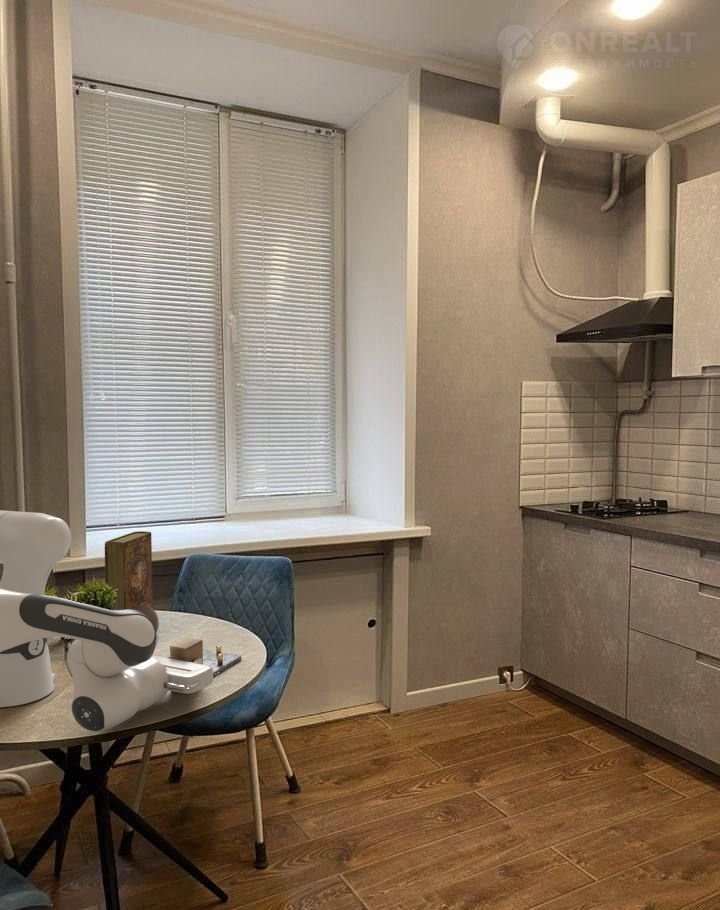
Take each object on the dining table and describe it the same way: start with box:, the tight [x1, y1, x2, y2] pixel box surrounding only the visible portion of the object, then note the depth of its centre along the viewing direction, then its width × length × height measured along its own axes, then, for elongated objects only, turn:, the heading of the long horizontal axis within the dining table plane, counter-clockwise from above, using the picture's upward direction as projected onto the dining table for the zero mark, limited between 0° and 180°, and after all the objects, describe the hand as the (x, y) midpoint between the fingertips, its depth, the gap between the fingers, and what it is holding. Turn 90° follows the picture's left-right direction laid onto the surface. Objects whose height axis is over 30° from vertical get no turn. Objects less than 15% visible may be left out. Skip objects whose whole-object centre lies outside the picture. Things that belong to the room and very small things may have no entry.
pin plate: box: [203, 644, 242, 677], centre depth 164 cm, size 11×12×3 cm
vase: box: [137, 603, 160, 633], centre depth 184 cm, size 7×7×9 cm
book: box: [104, 530, 154, 611], centre depth 193 cm, size 16×6×25 cm, turn 168°
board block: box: [169, 637, 204, 695], centre depth 150 cm, size 4×6×10 cm, turn 157°
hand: (189, 659), depth 151 cm, fingers closed on board block, 4 cm apart
